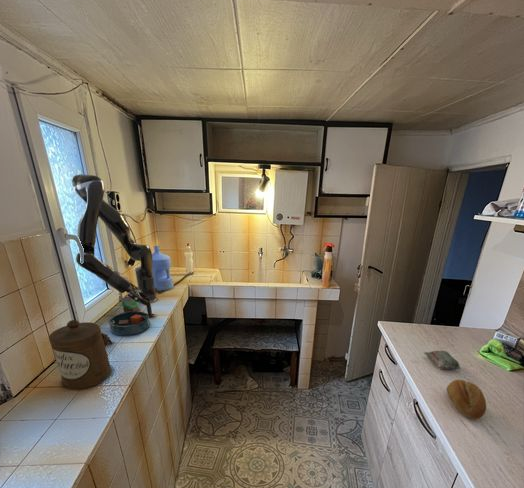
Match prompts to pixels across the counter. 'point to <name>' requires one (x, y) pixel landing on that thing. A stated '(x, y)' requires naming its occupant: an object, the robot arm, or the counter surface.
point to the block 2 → (136, 319)
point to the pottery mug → (106, 339)
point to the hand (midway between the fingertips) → (147, 301)
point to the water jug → (161, 270)
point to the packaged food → (443, 359)
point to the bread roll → (467, 398)
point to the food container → (129, 304)
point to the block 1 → (123, 323)
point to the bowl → (131, 328)
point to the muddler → (149, 307)
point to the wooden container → (80, 354)
